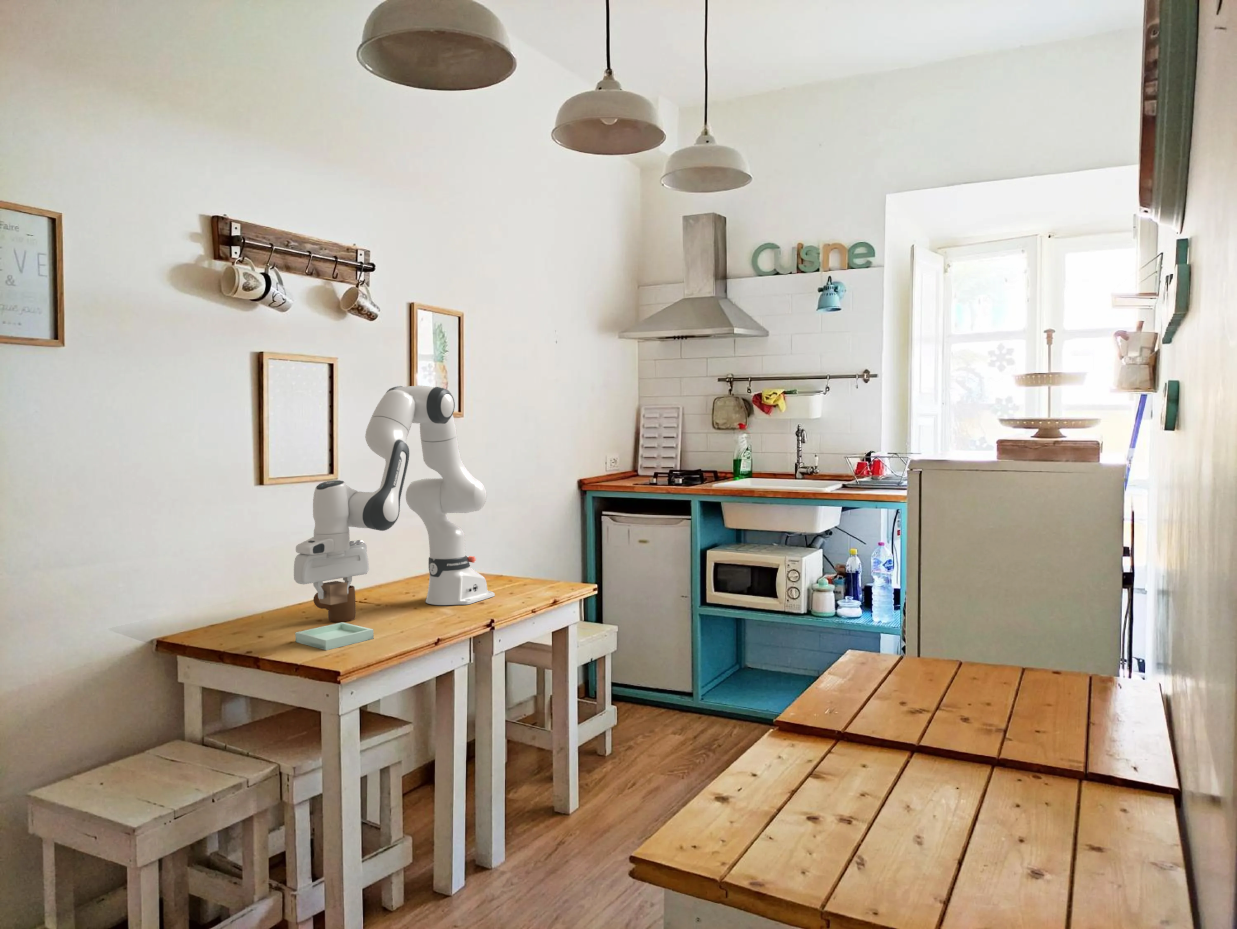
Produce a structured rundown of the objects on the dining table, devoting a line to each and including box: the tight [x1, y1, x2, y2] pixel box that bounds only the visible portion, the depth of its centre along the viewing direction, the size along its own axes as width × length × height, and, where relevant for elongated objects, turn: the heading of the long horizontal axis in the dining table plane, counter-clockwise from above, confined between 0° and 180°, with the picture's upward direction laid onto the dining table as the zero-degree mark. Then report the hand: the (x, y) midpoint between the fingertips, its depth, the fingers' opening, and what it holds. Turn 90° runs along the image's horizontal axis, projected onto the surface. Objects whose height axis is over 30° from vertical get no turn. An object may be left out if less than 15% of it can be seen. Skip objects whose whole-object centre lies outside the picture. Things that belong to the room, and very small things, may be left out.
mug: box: [313, 584, 357, 623], centre depth 246 cm, size 12×8×9 cm, turn 132°
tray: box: [294, 622, 375, 651], centre depth 224 cm, size 14×14×2 cm
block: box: [319, 580, 348, 605], centre depth 223 cm, size 5×5×5 cm
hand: (333, 596), depth 223 cm, fingers closed on block, 5 cm apart
